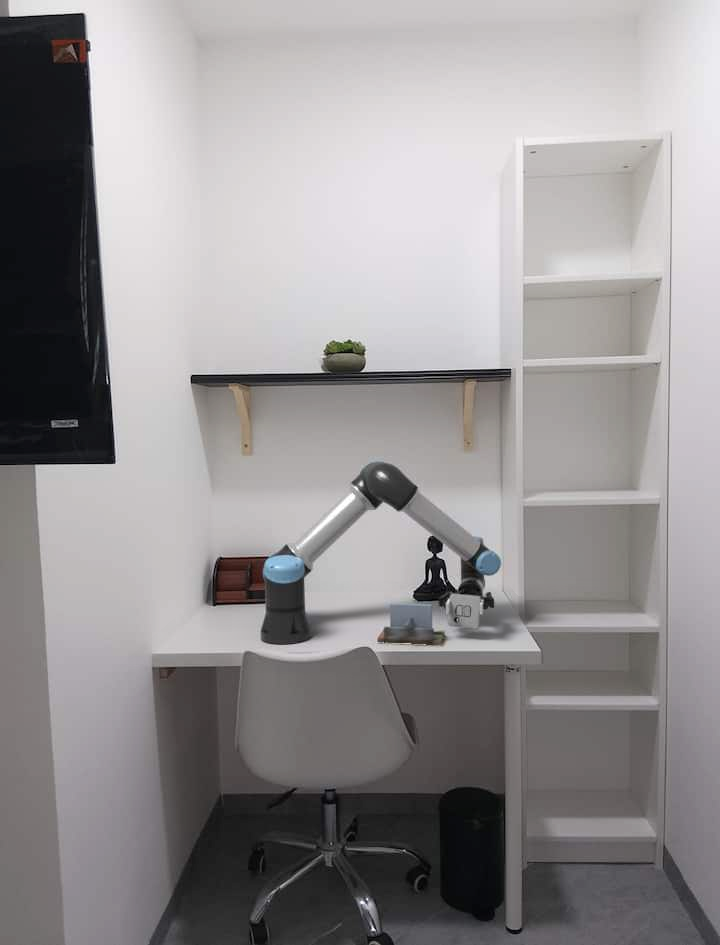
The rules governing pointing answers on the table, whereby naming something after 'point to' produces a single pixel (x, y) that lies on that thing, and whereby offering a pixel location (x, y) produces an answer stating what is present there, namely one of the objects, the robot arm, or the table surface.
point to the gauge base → (411, 635)
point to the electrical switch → (464, 611)
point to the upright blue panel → (411, 616)
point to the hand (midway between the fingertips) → (464, 609)
